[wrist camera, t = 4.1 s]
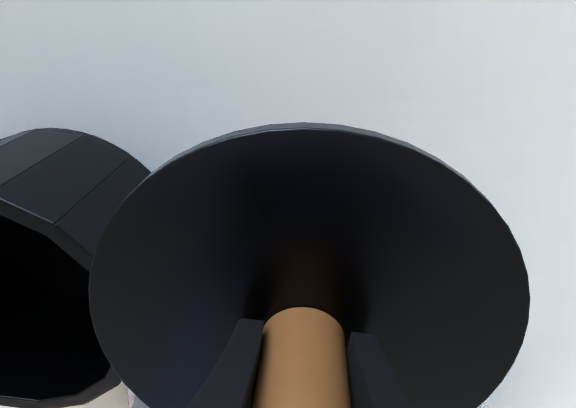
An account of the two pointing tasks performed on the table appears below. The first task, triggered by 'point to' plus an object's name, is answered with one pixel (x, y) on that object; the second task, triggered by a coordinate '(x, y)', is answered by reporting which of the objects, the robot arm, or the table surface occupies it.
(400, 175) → the pot lid
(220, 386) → the robot arm
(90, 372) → the pot
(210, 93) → the table surface
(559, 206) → the table surface
